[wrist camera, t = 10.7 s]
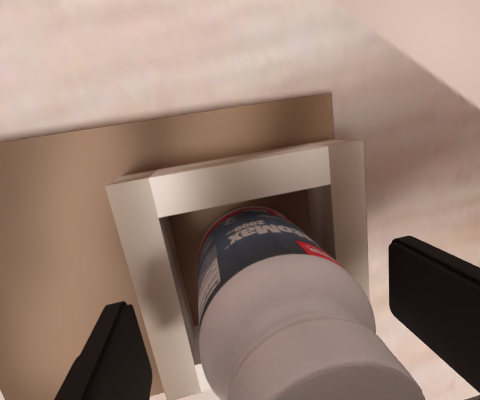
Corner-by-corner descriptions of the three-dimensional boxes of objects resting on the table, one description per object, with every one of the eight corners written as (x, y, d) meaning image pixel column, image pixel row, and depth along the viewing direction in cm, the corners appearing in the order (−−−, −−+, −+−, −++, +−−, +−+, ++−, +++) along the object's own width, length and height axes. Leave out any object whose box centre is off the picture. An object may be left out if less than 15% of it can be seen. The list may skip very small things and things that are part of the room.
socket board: (317, 97, 14) (364, 82, 10) (334, 324, 18) (373, 378, 14) (-75, 156, 12) (-205, 166, 8) (37, 403, 15) (-15, 493, 11)
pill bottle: (311, 213, 14) (502, 341, 5) (285, 304, 15) (411, 537, 6) (207, 194, 13) (237, 319, 4) (188, 294, 14) (178, 560, 5)
